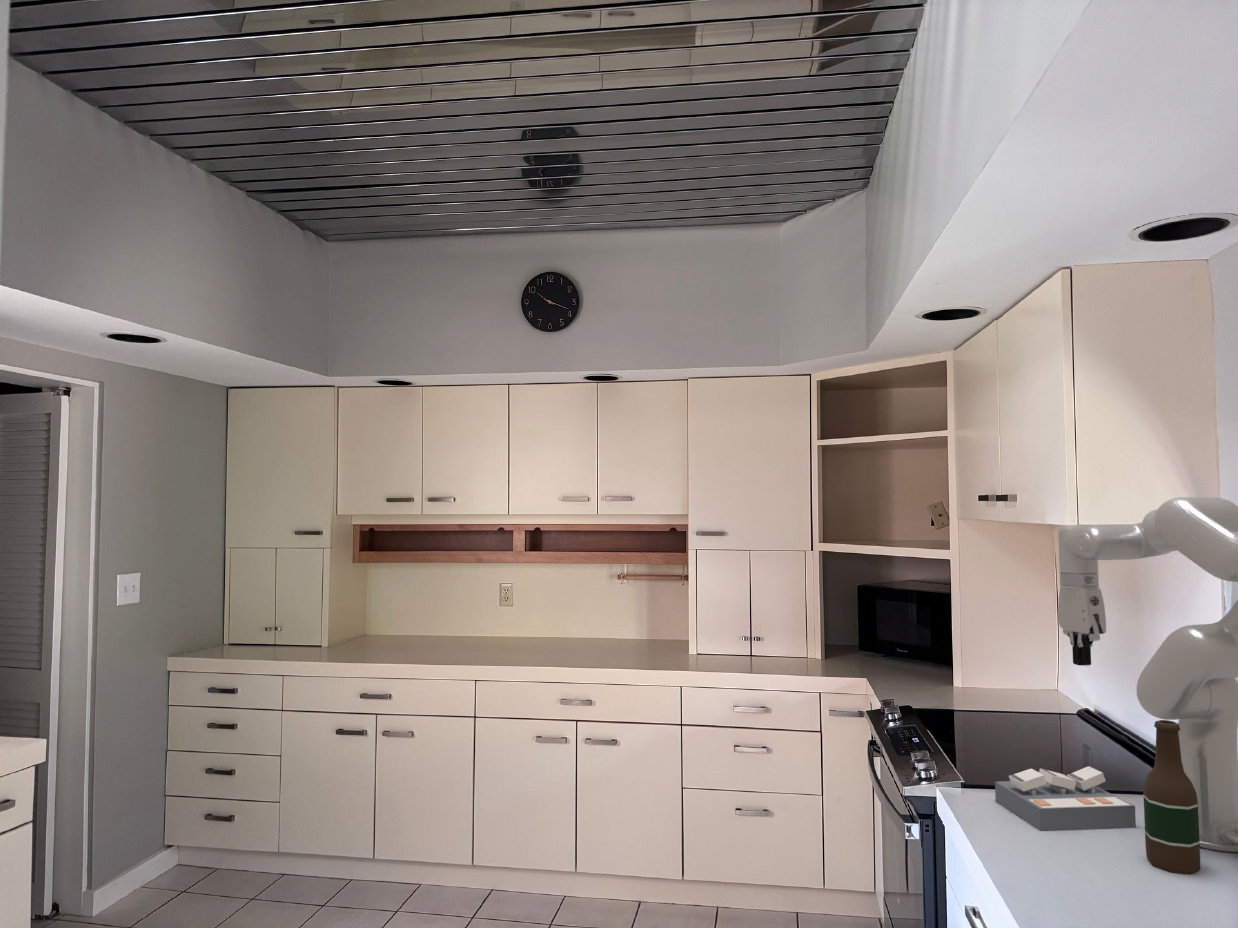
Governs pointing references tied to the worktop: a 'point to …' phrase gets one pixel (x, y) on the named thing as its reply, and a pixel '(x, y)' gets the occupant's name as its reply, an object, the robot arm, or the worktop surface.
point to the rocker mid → (1058, 779)
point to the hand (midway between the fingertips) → (1082, 664)
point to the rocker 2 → (1087, 778)
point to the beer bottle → (1171, 807)
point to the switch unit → (1066, 807)
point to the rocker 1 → (1027, 780)
